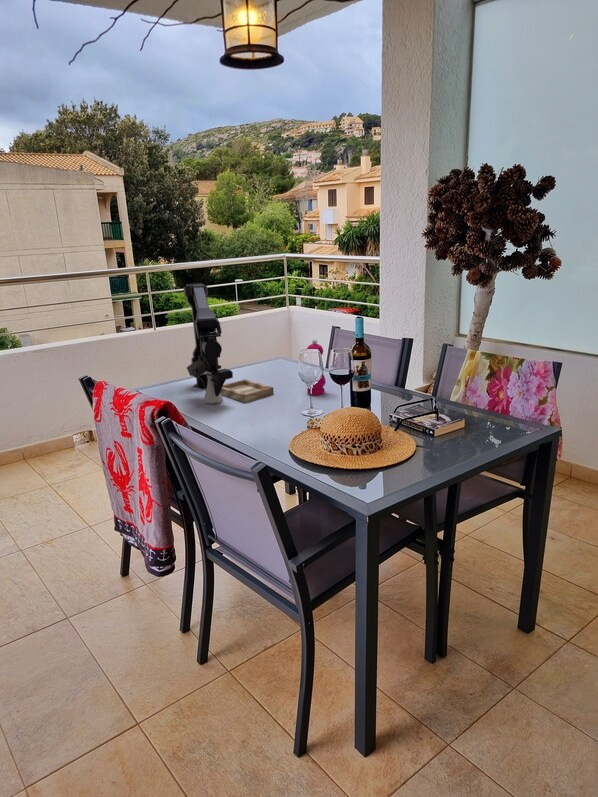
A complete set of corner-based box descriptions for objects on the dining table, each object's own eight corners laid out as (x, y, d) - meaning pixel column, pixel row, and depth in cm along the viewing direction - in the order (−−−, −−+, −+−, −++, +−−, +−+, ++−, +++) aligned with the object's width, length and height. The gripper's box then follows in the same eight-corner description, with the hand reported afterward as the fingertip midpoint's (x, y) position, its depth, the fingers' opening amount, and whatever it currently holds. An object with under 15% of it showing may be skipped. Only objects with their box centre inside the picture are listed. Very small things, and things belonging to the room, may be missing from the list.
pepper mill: (302, 392, 206) (300, 339, 200) (319, 389, 209) (318, 336, 203) (312, 397, 200) (310, 342, 194) (329, 394, 203) (328, 340, 197)
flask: (221, 404, 196) (219, 377, 193) (201, 404, 196) (198, 377, 193) (224, 398, 203) (222, 371, 200) (205, 398, 203) (202, 372, 200)
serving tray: (217, 393, 208) (217, 386, 207) (245, 386, 217) (244, 379, 216) (245, 403, 196) (245, 395, 195) (273, 394, 205) (273, 387, 204)
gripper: (174, 352, 195) (179, 394, 200) (204, 360, 182) (208, 405, 187) (201, 346, 203) (205, 387, 207) (232, 354, 189) (235, 397, 194)
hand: (212, 394), depth 199 cm, fingers closed on flask, 5 cm apart
